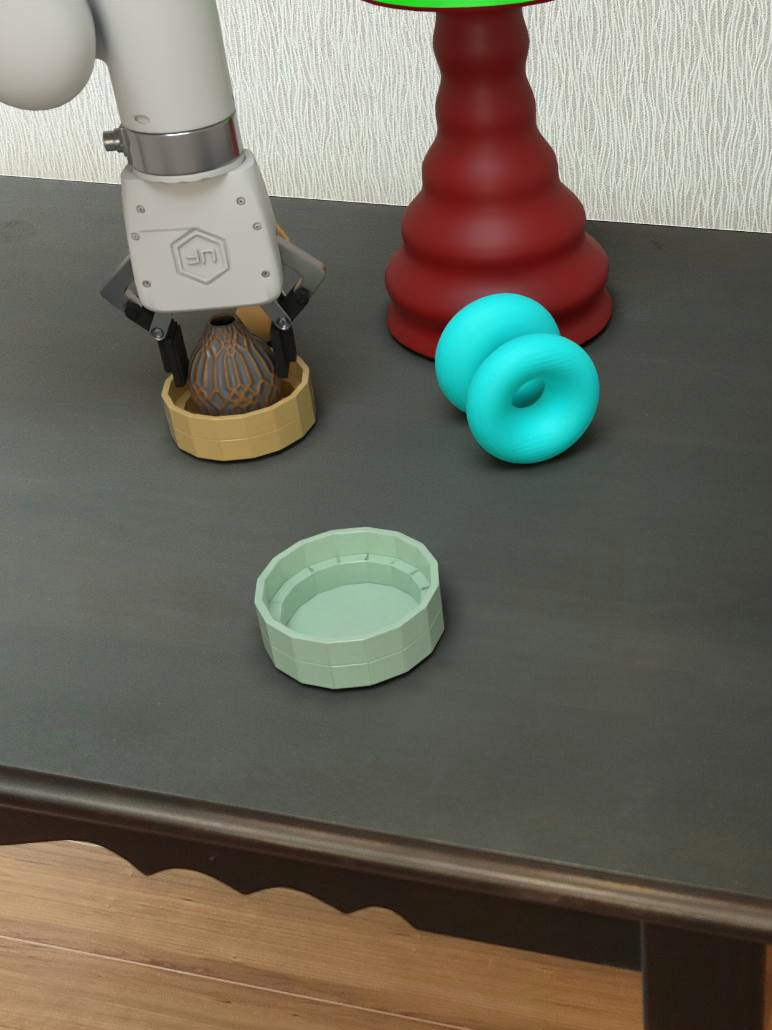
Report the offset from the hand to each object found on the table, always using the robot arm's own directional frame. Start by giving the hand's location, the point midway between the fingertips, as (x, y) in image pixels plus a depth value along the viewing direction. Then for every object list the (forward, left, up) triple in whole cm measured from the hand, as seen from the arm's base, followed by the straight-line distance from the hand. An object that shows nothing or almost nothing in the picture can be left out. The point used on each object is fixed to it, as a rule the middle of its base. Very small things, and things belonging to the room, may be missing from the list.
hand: (233, 372), depth 97 cm
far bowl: (0, 0, -5) cm, 5 cm away
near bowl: (+9, -26, -5) cm, 28 cm away
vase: (0, 0, -5) cm, 5 cm away
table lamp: (+21, +15, -5) cm, 26 cm away
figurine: (0, +15, -5) cm, 16 cm away
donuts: (+21, -5, -5) cm, 22 cm away
